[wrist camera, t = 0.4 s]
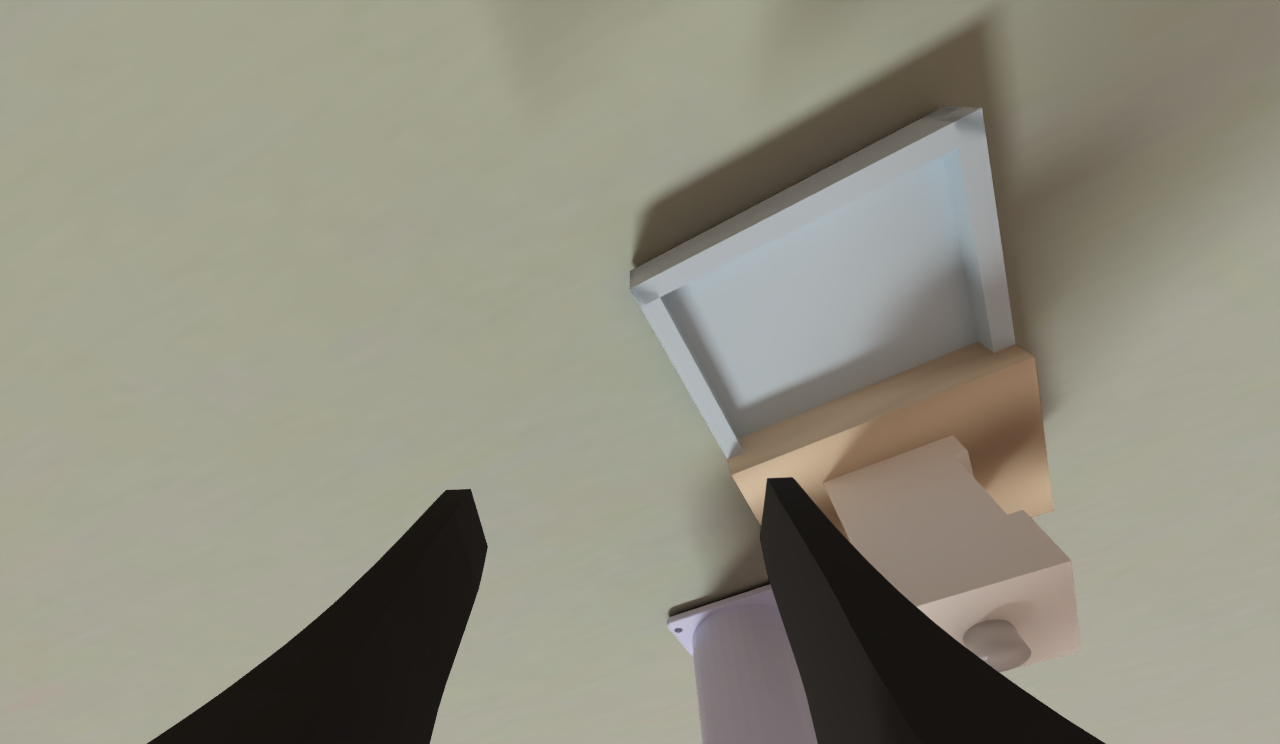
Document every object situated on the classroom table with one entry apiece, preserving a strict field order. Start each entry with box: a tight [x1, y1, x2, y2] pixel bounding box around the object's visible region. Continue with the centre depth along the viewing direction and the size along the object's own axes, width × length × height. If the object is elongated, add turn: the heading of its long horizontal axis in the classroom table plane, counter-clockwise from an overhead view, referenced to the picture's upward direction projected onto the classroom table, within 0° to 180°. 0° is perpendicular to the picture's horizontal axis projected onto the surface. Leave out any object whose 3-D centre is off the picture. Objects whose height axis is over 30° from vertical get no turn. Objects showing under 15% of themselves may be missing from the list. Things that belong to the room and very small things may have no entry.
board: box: [727, 341, 1054, 542], centre depth 22 cm, size 9×12×3 cm
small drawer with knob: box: [823, 435, 1081, 672], centre depth 18 cm, size 5×5×7 cm
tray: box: [630, 106, 1016, 459], centre depth 18 cm, size 9×12×2 cm
